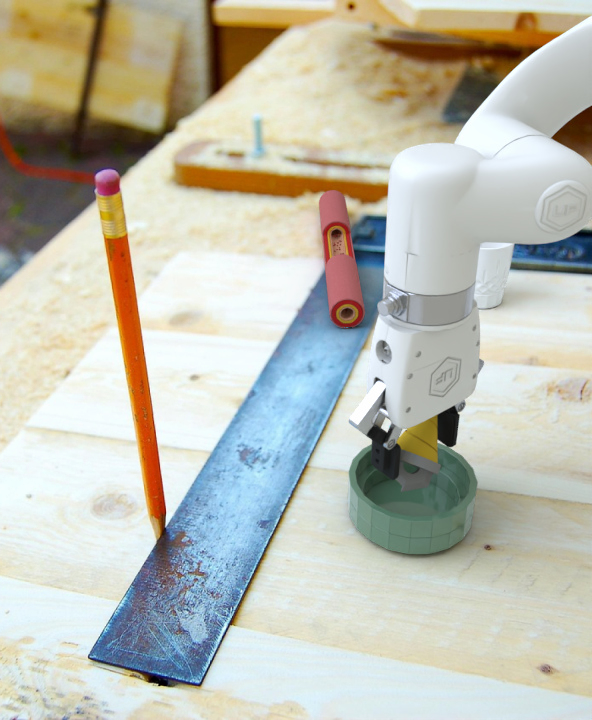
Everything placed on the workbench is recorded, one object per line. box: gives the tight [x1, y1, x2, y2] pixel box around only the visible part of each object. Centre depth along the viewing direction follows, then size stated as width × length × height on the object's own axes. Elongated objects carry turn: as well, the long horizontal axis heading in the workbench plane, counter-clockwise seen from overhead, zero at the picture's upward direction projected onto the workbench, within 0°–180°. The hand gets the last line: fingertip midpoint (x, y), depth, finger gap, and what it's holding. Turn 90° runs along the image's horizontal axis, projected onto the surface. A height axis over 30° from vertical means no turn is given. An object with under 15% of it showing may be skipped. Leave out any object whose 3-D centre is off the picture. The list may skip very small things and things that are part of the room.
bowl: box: [347, 442, 478, 555], centre depth 78 cm, size 12×12×5 cm
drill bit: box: [396, 415, 441, 492], centre depth 74 cm, size 5×5×10 cm
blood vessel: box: [318, 189, 366, 329], centre depth 126 cm, size 42×5×5 cm, turn 177°
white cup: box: [474, 242, 515, 310], centre depth 112 cm, size 8×8×10 cm
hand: (413, 454), depth 75 cm, fingers closed on drill bit, 7 cm apart
